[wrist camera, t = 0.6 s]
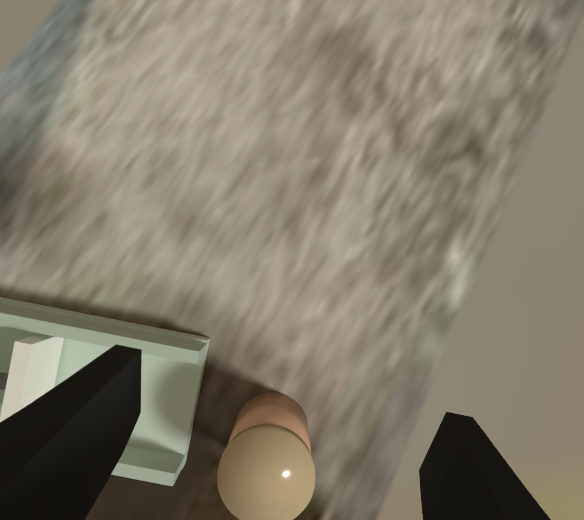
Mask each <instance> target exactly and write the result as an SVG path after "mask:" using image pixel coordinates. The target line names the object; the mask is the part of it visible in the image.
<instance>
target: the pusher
mask: <svg viewBox="0 0 584 520" xmlns="http://www.w3.org/2000/svg"><path fill="white" fill-rule="evenodd" d="M63 339H64V338H60V337H55V336H50V335H45V334H37V335H34V336H30V337H27V338H24V339H21V340H17V341H15V343H14V348H13V353H12V358H11V363H10V368H9V373H3V372H0V389H1V390H5V394H4V399H3V404H2V409H1V414H0V422H1V421H3V420H5V419H6V418H8V417H10V416H11V415H13V414H14V413H16V412H18V411H19V410H21V409H22V408H24V407H26V406H27V405H29V404H30V403H32V402H33V401H35V400H36V399H38V398H39V397H41V396H42V395H44V394H45V393H47V392H48V391H49V390H51V389H52V388H54V385H55V380H56V375H57V370H58V365H59V360H60V355H61V350H62V344H63Z"/></svg>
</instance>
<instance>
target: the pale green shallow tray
mask: <svg viewBox="0 0 584 520" xmlns="http://www.w3.org/2000/svg"><path fill="white" fill-rule="evenodd" d="M37 334H45V335H50V336H55V337H60V338H64V339H63V344H62V350H61V355H60V360H59V365H58V370H57V375H56V380H55V385H54V387H55V386H57V385H58V384H60V383H61V382H63V381H64V380H66V379H67V378H69V377H70V376H71V375H73V374H74V373H76V372H77V371H79V370H80V369H81V368H83V367H84V366H86V365H87V364H88V363H90V362H91V361H93V360H94V359H96V358H97V357H98V356H100V355H101V354H103V353H104V352H105V351H107V350H108V349H110V348H111V347H113V346H114V345H116V344H117V345H122V346H127V347H132V348H137V349H142V365H141V413H140V416H139V418H138V420H137V423H136V425H135V427H134V430H133V432H132V434H131V437H130V439H129V441H128V443H127V445H126V448H125V450H124V452H123V454H122V456H121V458H120V460H119V461H118V463H117V465H116V467H115V468H114V470H113V472H112V474H111V475H117V476H122V477H127V478H132V479H137V480H142V481H148V482H153V483H158V484H163V485H168V486H173V485H174V483H175V481H176V479H177V477H178V475H179V473H180V471H181V470H182V469H183V467H184V465H185V463H186V458H187V453H188V448H189V443H190V438H191V433H192V428H193V423H194V418H195V413H196V408H197V402H198V397H199V392H200V387H201V382H202V377H203V372H204V367H205V362H206V357H207V352H208V347H209V341H210V338H208V337H203V336H198V335H193V334H187V333H182V332H177V331H172V330H167V329H162V328H157V327H152V326H147V325H142V324H136V323H131V322H126V321H121V320H116V319H111V318H106V317H101V316H96V315H91V314H85V313H80V312H75V311H70V310H65V309H60V308H55V307H50V306H45V305H40V304H34V303H29V302H24V301H19V300H14V299H9V298H4V297H0V372H3V373H9V368H10V363H11V358H12V353H13V348H14V343H15V341H17V340H21V339H24V338H27V337H30V336H34V335H37ZM4 394H5V390H1V389H0V414H1V409H2V404H3V399H4Z"/></svg>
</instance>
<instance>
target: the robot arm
mask: <svg viewBox="0 0 584 520" xmlns="http://www.w3.org/2000/svg"><path fill="white" fill-rule="evenodd" d="M141 365H142V349H137V348H132V347H127V346H122V345H117V344H116V345H114V346H113V347H111V348H110V349H108V350H107V351H105V352H104V353H103V354H101V355H100V356H98V357H97V358H96V359H94V360H93V361H91V362H90V363H88V364H87V365H86V366H84V367H83V368H81V369H80V370H79V371H77V372H76V373H74V374H73V375H71V376H70V377H69V378H67V379H66V380H64V381H63V382H61V383H60V384H58V385H57V386H55V387H54V388H52V389H51V390H49V391H48V392H47V393H45V394H44V395H42V396H41V397H39V398H38V399H36V400H35V401H33V402H32V403H30V404H29V405H27V406H26V407H24V408H22V409H21V410H19V411H18V412H16V413H14V414H13V415H11V416H10V417H8V418H6V419H5V420H3V421H1V422H0V520H85V518H86V517H87V515H88V513H89V511H90V510H91V508H92V506H93V505H94V503H95V501H96V499H97V498H98V496H99V494H100V493H101V491H102V489H103V487H104V486H105V484H106V482H107V481H108V479H109V477H110V475H111V474H112V472H113V470H114V468H115V467H116V465H117V463H118V461H119V460H120V458H121V456H122V454H123V452H124V450H125V448H126V445H127V443H128V441H129V439H130V437H131V434H132V432H133V430H134V427H135V425H136V423H137V420H138V418H139V416H140V413H141ZM419 475H420V490H421V502H422V513H423V520H551V519H550V518H549V517H548V516H547V514H546V513H545V512H544V511H543V509H542V508H541V507H540V506H539V504H538V503H537V502H536V500H535V499H534V498H533V497H532V495H531V494H530V493H529V492H528V490H527V489H526V488H525V486H524V485H523V484H522V482H521V481H520V480H519V478H518V477H517V476H516V475H515V473H514V472H513V470H512V469H511V468H510V467H509V465H508V464H507V462H506V461H505V460H504V458H503V457H502V456H501V454H500V453H499V452H498V450H497V449H496V448H495V446H494V445H493V444H492V442H491V441H490V440H489V438H488V437H487V435H486V434H485V433H484V431H483V430H482V429H481V428H480V426H479V425H478V424H477V422H476V421H475V420H474V419H473V417H469V416H464V415H459V414H454V413H450V412H446V414H445V416H444V418H443V420H442V422H441V424H440V426H439V429H438V431H437V433H436V435H435V437H434V440H433V442H432V444H431V446H430V448H429V450H428V452H427V454H426V457H425V459H424V461H423V463H422V465H421V468H420V470H419Z"/></svg>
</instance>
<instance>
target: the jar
mask: <svg viewBox="0 0 584 520" xmlns="http://www.w3.org/2000/svg"><path fill="white" fill-rule="evenodd" d="M217 484H218V490H219V493H220V496H221V498H222V501H223V502H224V504H225V506H226V507H227V508H228V510H229V511H230V512H231V513H232V514H233V515H234V516H235V517H237V518H238V519H240V520H293V519H294V518H296V517H297V516H298V515H299V514H300V513H301V512H302V511H303V510H304V509H305V508H306V506H307V505H308V503H309V501H310V499H311V497H312V495H313V491H314V487H315V469H314V461H313V458H312V455H311V448H310V439H309V430H308V422H307V418H306V415H305V413H304V411H303V409H302V408H301V406H300V405H299V404H298V403H297V402H296V401H295V400H293V399H292V398H290V397H289V396H287V395H284V394H281V393H276V392H267V393H262V394H259V395H256V396H254V397H253V398H251V399H250V400H248V401H247V402H246V403H245V404H244V405H243V407H242V408H241V409H240V411H239V413H238V415H237V418H236V421H235V424H234V427H233V430H232V433H231V436H230V439H229V442H228V445H227V447H226V448H225V450H224V453H223V455H222V458H221V461H220V464H219V468H218V474H217Z"/></svg>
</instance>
